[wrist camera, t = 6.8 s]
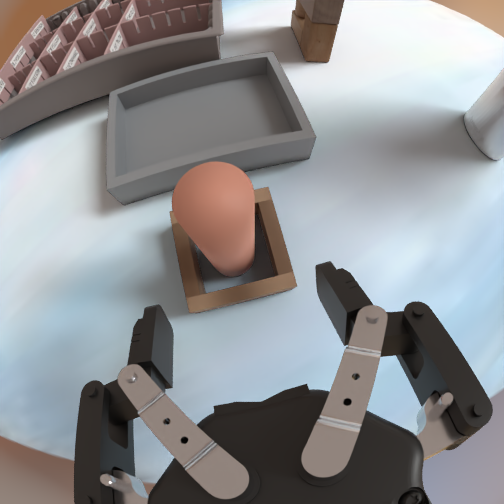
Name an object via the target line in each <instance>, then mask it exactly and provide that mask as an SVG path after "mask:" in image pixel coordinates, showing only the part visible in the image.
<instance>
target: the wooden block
mask: <svg viewBox="0 0 504 504" xmlns="http://www.w3.org/2000/svg"><path fill="white" fill-rule="evenodd" d="M343 3H344V0H296V8H295V10H293V11H292V20H291V27H292V29H293V31H294V34H295V36H296V38H297V41H298V43H299V46H300V48H301V51H302V53H303V56H304V58H305V60H306V61H314V62H329V59H330V55H331V51H332V47H333V43H334V39H335V35H336V31H337V27H338V25H337V24H339V20H340V16H341V12H342V8H343Z"/></svg>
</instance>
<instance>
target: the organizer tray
mask: <svg viewBox="0 0 504 504" xmlns="http://www.w3.org/2000/svg"><path fill="white" fill-rule="evenodd" d="M223 34H224V31H223V16H222V1H221V0H82V1H80V2H78V3H76V4H74V5H71V6H69V7H67V8H65V9H63V10H61V11H59V12H58V13H56V14H54V15H52V16H50V17H48V18H47V19H45V18H44V17H43V15H42V16H41V17H40V18H39V19H38V20H37V21H36V22H35V24H34V25H33V26H32V27H31V29H30V30H29V31H28V32H27V33H26V35H25V36H24V37H23V39H22V40H21V41H20V43H19V44H18V45H17V47H16V48H15V49H14V51H13V52H12V54H11V55H10V57H9V58H8V59H7V61H6V62H5V64H4V66H3V67H2V69H1V70H0V138H1V139H4V138H6V137H8V136H10V135H12V134H13V133H15V132H17V131H19V130H21V129H23V128H25V127H27V126H29V125H31V124H33V123H35V122H38V121H40V120H42V119H44V118H46V117H49V116H51V115H53V114H56V113H58V112H61V111H63V110H65V109H68V108H71V107H73V106H76V105H79V104H81V103H84V102H87V101H90V100H93V99H96V98H99V97H102V96H105V95H108V94H110V92H112V91H114V90H117V89H119V88H122V87H125V86H127V85H130V84H133V83H136V82H138V81H141V80H144V79H147V78H150V77H153V76H157V75H160V74H163V73H166V72H170V71H173V70H177V69H181V68H185V67H188V66H192V65H197V64H201V63H205V62H210V61H215V60H220V40H219V36H221V35H223ZM72 109H73V108H72Z"/></svg>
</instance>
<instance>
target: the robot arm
mask: <svg viewBox="0 0 504 504" xmlns="http://www.w3.org/2000/svg"><path fill="white" fill-rule="evenodd" d="M464 122H465V126H466V129H467V131H468V133H469V135H470V137H471V138H472V140H473V141H474V143H475V144H476V145H477V146H478V148H479V149H480V150H481V151H482V152H483V153H484V154H485V155H487V156H488V157H489V158H491V159H493V160H500V159H501V158H502V157H504V68H503V70H502V71H501V72H500V73H499V75H498V76H497V77H496V78H495V80H494V81H493V82H492V83H491V84H490V86H489V87H488V88H487V89H486V90H485V92H484V93H483V94H482V95H481V96H480V97H479V99H478V100H477V101H476V102H475V103H474V104H473V106H472V107H471V108H470V109H469V110H468V111H467V112H466V114H465V116H464ZM316 285H317V293H318V296H319V299H320V301H321V303H322V305H323V306H324V308H325V310H326V312H327V314H328V316H329V318H330V320H331V321H332V323H333V325H334V327H335V329H336V331H337V333H338V335H339V337H340V339H341V341H342V343H343V345H344V346H346V345H348V347H346V349H345V351H344V354H343V357H342V360H341V363H340V366H339V368H338V371H337V374H336V377H335V380H334V382H333V385H332V388H331V390H330V392H329V391H325V390H314V389H313V390H309V389H308V386H307V384H305V385H301V386H298V387H295V388H291V389H287V390H284V391H282V392H280V393H278V394H276V395H274V396H272V397H270V398H268V399H266V400H264V401H262V402H233V403H228V404H223V405H217V406H214V413H212V414H210V415H209V416H207V417H205V418H204V419H203V420H202V421H200V422H199V423H198V424H197V425H196V424H195V423H193V422H192V421H191V420H190V419H189V418H188V417H187V416H186V415H185V414H184V413H183V412H182V411H181V410H180V409H179V408H178V407H177V406H176V405H175V404H174V403H173V401H172V400H171V399H170V398H169V397H168V396H167V395H166V394H165V389H169V388H173V330H172V327H171V324H170V322H169V321H168V319H167V317H166V315H165V313H164V311H163V309H162V307H161V306H160V305H159V304H158V305H154V306H150V307H146V308H145V309H144V315H143V318H141V319H138V321H137V322H136V324H135V326H134V328H133V334H132V335H133V337H132V340H131V342H132V343H131V346H130V352H129V358H128V365H127V366H126V367H125V368H123V369H122V370H121V372H120V373H119V375H118V379H117V380H115V381H113V382H110V383H108V384H106V385H103V384H102V383H101V382H100V381H91V382H89V383H87V384H86V385H85V386H84V388H83V389H82V392H81V398H80V406H79V414H78V422H77V432H76V445H75V464H74V502H75V504H432V503H431V502H430V500H429V498H428V496H427V495H426V493H425V490H424V487H423V481H422V468H423V461H424V460H426V459H428V458H430V457H432V456H434V455H436V454H438V453H439V452H441V451H443V450H452V449H455V448H457V447H458V446H459V445H461V444H462V443H463V442H464V441H466V440H467V439H468V438H470V437H471V436H472V435H473V434H475V433H476V432H477V431H478V430H480V429H481V428H482V427H483V426H484V425H485V424H486V423H488V421H489V420H490V418H491V416H492V411H493V409H492V404H491V402H490V400H489V398H488V396H487V394H486V393H485V391H484V389H483V387H482V386H481V384H480V382H479V381H478V379H477V377H476V376H475V374H474V372H473V371H472V369H471V367H470V366H469V364H468V363H467V361H466V359H465V358H464V356H463V355H462V353H461V352H460V350H459V349H458V347H457V346H456V344H455V343H454V341H453V340H452V338H451V337H450V335H449V334H448V332H447V331H446V330H445V328H444V327H443V325H442V324H441V322H440V321H439V320H438V318H437V317H436V316H435V314H434V313H433V311H432V310H431V309H430V307H429V306H428V305H426V304H425V303H422V302H411V303H409V304H407V305H406V307H405V309H404V311H400V312H386V311H385V310H384V309H383V308H381V307H379V306H375V305H373V304H372V302H371V301H370V299H369V298H368V297H367V295H366V294H365V293H364V291H363V290H362V288H361V287H360V286H359V284H358V283H357V281H355V279H354V277H353V276H352V275H351V273H349V272H348V271H346V270H344V269H343V268H341V269H337V270H336V268H335V267H334V265H333V264H332V263H331V262H330V261H329V262H325V263H322V264H318V265H316ZM393 355H396V356H397V358H398V360H399V362H400V364H401V366H402V368H403V370H404V372H405V374H406V376H407V378H408V379H409V381H410V383H411V385H412V387H413V389H414V392H415V394H416V396H417V398H418V400H419V402H420V404H421V406H422V408H421V409H420V411H419V412H418V414H417V424H418V433H417V436H416V435H414V434H413V433H412V432H410V431H409V430H407V429H404V428H402V427H400V426H398V425H396V424H394V423H391V422H389V421H387V420H385V419H383V418H381V417H379V416H377V415H375V414H373V413H371V412H369V411H367V410H366V409H367V406H368V402H369V399H370V396H371V392H372V388H373V385H374V381H375V377H376V373H377V369H378V365H379V361H380V357H383V356H393ZM137 417H141V418H142V420H143V421H144V422H145V423H146V425H147V426H148V427H149V428H150V430H151V431H152V432H153V433H154V434H155V436H156V437H157V438H158V439H159V440H160V442H161V443H162V444H163V445H164V446H165V447H166V448H167V450H168V451H169V452H170V453H171V454H172V455H173V456H174V457H175V458H174V459H173V461H172V462H171V463H170V465H169V466H168V468H167V469H166V471H165V472H164V473H163V475H162V476H161V478H160V479H159V480H158V482H157V483H156V485H155V486H154V487H153V489H152V491H151V492H150V494H149V496H148V495H147V493H146V491H145V487H144V485H143V483H142V482H141V481H140V480H139V479H138V478H136V477H135V464H134V441H133V419H135V418H137Z"/></svg>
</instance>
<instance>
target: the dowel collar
mask: <svg viewBox="0 0 504 504" xmlns="http://www.w3.org/2000/svg"><path fill="white" fill-rule="evenodd" d="M254 196H255V215H258V217H259V220H260V224H261V227H262V231H263V235H264V238H265V242H266V245H267V249H268V253H269V256H270V260H271V264H272V268H273V271H274V275H275V276H274V277H270V278H266V279H263V280H259V281H255V282H251V283H247V284H243V285H239V286H235V287H231V288H227V289H223V290H219V291H214V292H210V293H206V292H205V288H204V284H203V279H202V275H201V270H200V266H199V261H198V256H197V252H196V247H195V243H194V241H193V240H192V239H191V238H190V237H189V235H188V234H187V233H186V232H185V230H184V229H183V228H182V227H181V225H180V224H179V223H178V221H177V220H176V218H175V216H174V213H173V211H170V217H171V223H172V229H173V235H174V240H175V246H176V251H177V256H178V262H179V267H180V272H181V277H182V281H183V286H184V291H185V295H186V300H187V304H188V309H189V313H200V312H204V311H209V310H213V309H217V308H221V307H225V306H230V305H234V304H238V303H242V302H246V301H250V300H254V299H258V298H262V297H266V296H269V295H273V294H277V293H281V292H285V291H288V290H292V289H294V288H295V287H296V286H297V284H296V280H295V277H294V273H293V270H292V266H291V262H290V259H289V255H288V252H287V248H286V245H285V241H284V238H283V235H282V231H281V228H280V224H279V221H278V218H277V214H276V211H275V208H274V204H273V201H272V198H271V194H270V191H269V188H268V187H265V188H261V189H256V190H254Z"/></svg>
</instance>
